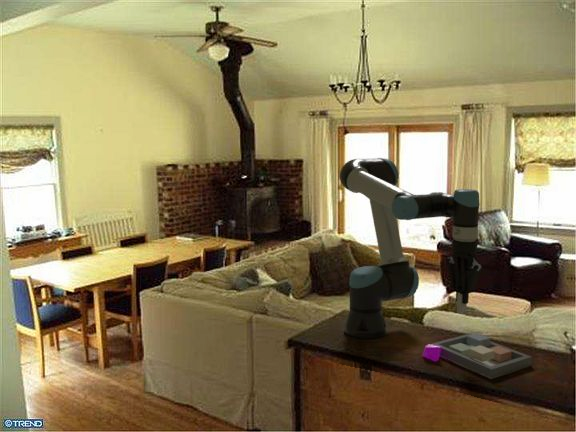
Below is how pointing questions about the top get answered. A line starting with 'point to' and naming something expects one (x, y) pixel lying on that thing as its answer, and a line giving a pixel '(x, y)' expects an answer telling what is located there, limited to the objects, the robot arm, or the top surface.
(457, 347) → the key sage
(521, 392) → the top surface
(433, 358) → the crystal
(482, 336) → the key slate
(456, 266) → the robot arm
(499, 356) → the key terracotta
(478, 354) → the key cream
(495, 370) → the grey tray
